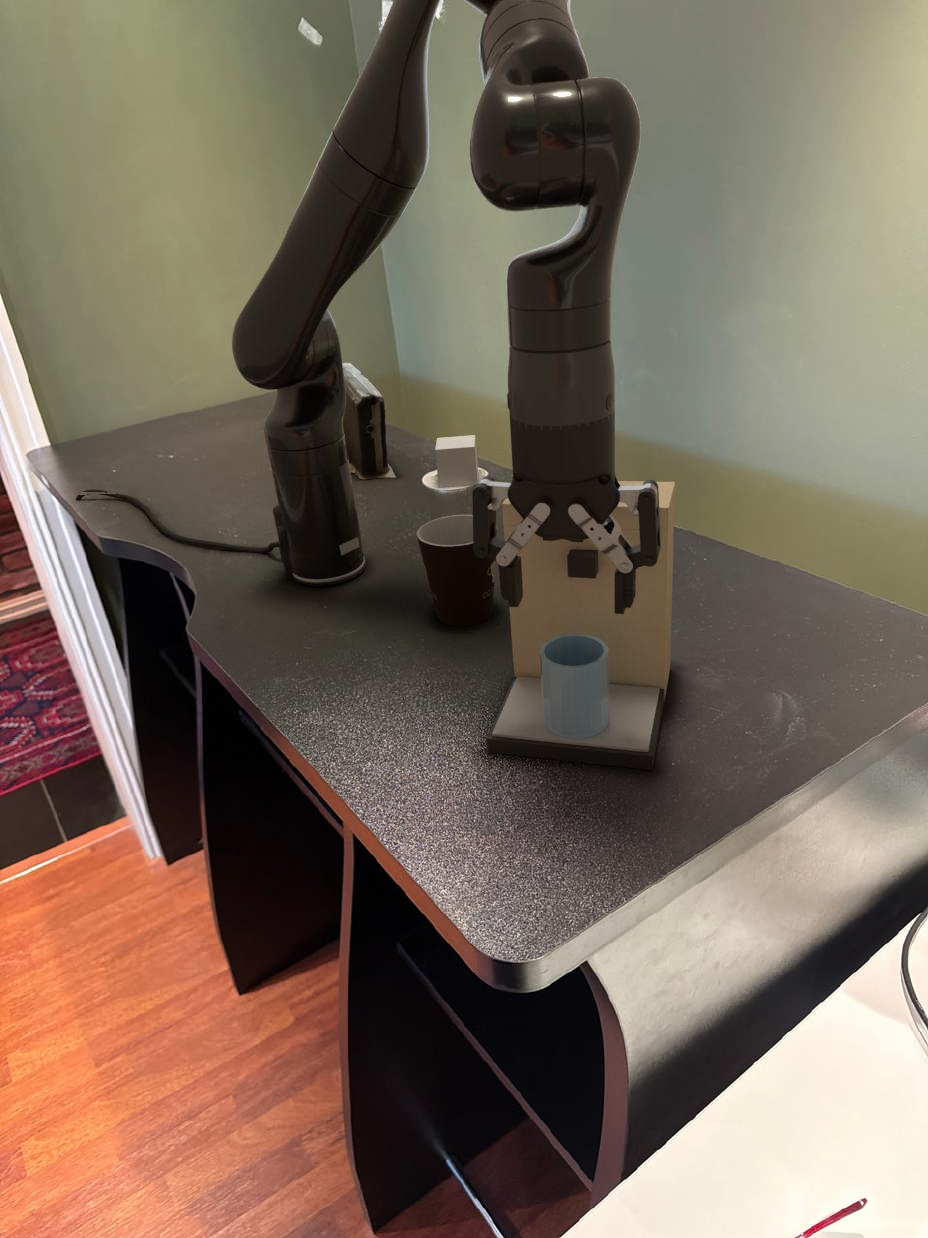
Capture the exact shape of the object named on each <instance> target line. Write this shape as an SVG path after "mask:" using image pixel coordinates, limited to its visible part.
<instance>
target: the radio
mask: <svg viewBox="0 0 928 1238" xmlns="http://www.w3.org/2000/svg"><path fill="white" fill-rule="evenodd" d="M342 364H343V373H344V383H345V392H346V409H345V414H344V418H343V427H344V434H345V440H346V447H347V453H348V459H349V465H350V472H351V474H352V473H353V474H355V475H357V477H358V478H359V479H360V480H372V479H385V478H394V479H395V478H397V476H396V475H395V473H394V471H393V468H392V467H391V466H390V464H389V462H388V447H387V426H386V408H385V407H386V406H385V399H384V396H383V395H382V394H381V392H379V390H378V389H377V388H376V386H374V385H373V384H372V383H371V381H370V380H369V379H368V378H367V377H365V375H364V374H363V372H362V371H361V370H360V369H359V368H358V367H355V366H354V364H352V363H351V362H342Z"/></svg>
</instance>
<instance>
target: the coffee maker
mask: <svg viewBox="0 0 928 1238" xmlns="http://www.w3.org/2000/svg"><path fill="white" fill-rule="evenodd" d="M617 481H618V483H619V484H620V486H640V485H643V483H644V482H645V481H640V480H639V481H636V480H635V481H634V480H633V481H632V480H617ZM656 482H657V484H658V489H659V514H660V539H661V548H660V552H659V556H658V560H657V563H656V564H655V565H654V566H651V567H647V566H642V567H639V568H637V569H636V594H635V598H634V601H633V604H632V606H631V608H626V609H625V613H624V614H615V571H616V566H615V565H614V564H613V563H612V561H611V560H610V559H609V558H608V557H607V555H606V554H604V553H601V552H600V551H599V549H598V548H597V547H596V546H595V545H594V543H593V542H592V541H591V540H590V538H588V539H585V540H584V541H583V542H571V541H568V540H565V539H560V540H555V541H543V538H542V537H539V536H538V535H536V534H535V533H534V534H533V535H532V537H531V538H530V539H529V541H528V542H527V543H526V544H525V546H524V547H523V548H522V549H521V550H520V551H519V553H518V554H517V556H521V566H522V584H523V597H522V600H521V602H520V604H519V606H518V607H509V606H508V608H509V621H510V633H511V634H510V635H511V646H512V650H511V651H512V661H513V662H512V663H513V674H514V675H513V678H512V681H511V684H510V685H509V688H508V690H507V692H506V694H505V696H504V699H503V701H502V703H501V706H500V707H499V710H498V712H497V715H496V717H495V719H494V721H493V724H492V726H491V729H490V731H489V732H488V735H487V737H486V746H487V753H491V754H498V755H499V754H500V755H507V756H509V755H510V756H517V757H528V758H535V759H544V760H545V759H546V760H555V761H563V762H572V763H581V764H582V763H583V764H591V765H600V766H608V767H619V768H626V769H627V768H628V769H637V770H644V771H645V770H646V771H653V770H654V764H655V759H656V754H657V753H656V751H657V746H658V741H659V735H660V730H661V723H662V717H663V713H664V707H665V700H666V695H667V690H668V689H667V688H668V684H669V677H670V673H671V672H670V671H671V658H672V657H671V655H672V619H673V618H672V617H673V616H672V615H673V584H674V583H673V581H674V580H673V577H674V576H673V575H674V545H675V544H674V542H675V539H674V538H675V507H676V505H675V503H676V502H675V501H676V481H656ZM501 510H502V511H501V512H502V523H503V537H504V539H503V540H504V541H506V540H507V539H508V538H509V536H510V535H511V534H512V533H513V531H514V530H515V529H516V527H517V526H518V524H519V523H520V522H521V520H522V519H523V518H522V517H521V516H520V514H519V513H518V512H517V511H516V509H515V508H514V507H513V506H512V504H511V503H510V501H509V499H508V498H506V499H503V503H502V505H501ZM611 515H612V516H613V518H614V519H615V520H616V521H617V523H618V524H619V525H620V527H621V529H622V532H623V534H624V535H625V536H626V538H627V539H628V540H629V541H630V543H631V544H632V545H633V546H637V545H640V531H639V516H634V515H632V514H631V513H630V511H629V508H628V506H627V505H626V504H625V503H623V502H619V504H618V506H617V507H616V508H615V509H614V511H613V512H612V513H611ZM572 633H576V634H587V635H591V636H594V637H597V638H599V639H600V640H602V641H603V642H605V643H606V645H607V647H608V649H609V723H608V725H607V727H606V728H605V729H604V730H603V731H602V732H600V733H599V734H597V735H595V736H592V737H588V738H582V739H570V738H564V737H560V736H557V735H555V734H553V733H552V732H550V731H549V730H548V729H547V728H546V726H545V724H544V717H543V708H542V690H541V672H540V654H539V651H540V649H541V646H542V644H544V643H545V642H546V641H548V640H549V639H551V638H554V637H556V636H559V635H564V634H572Z"/></svg>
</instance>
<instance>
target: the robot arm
mask: <svg viewBox="0 0 928 1238" xmlns="http://www.w3.org/2000/svg"><path fill="white" fill-rule="evenodd" d="M462 1H463V2H465V3H466V4H468V5H469V6H471V7H472V8H473V9H475V10H476V11H478V12H479V13H480V14H482V15H483V16H485V18H484V19H483V21H482V26H481V29H480V34H479V40H478V57H479V66H480V72H481V76H482V81H483V89H482V92H481V94H480V96H479V98H478V102H477V105H476V109H475V113H474V115H473V120H472V125H471V130H470V138H469V163H470V171H471V175H472V178H473V181H474V185H475V186H476V189H477V190H478V192H479V194H480V195H481V196H482V197H483V198H484V199H485V200H486V201H487V202H488V203H489V204H490V205H492V206H493V207H495V208H496V209H499V210H502V211H504V212H505V211H506V212H514V213H515V212H527V211H536V210H537V211H538V210H550V209H561V208H571V207H576V206H577V207H580V208H579V209H580V210H579V214H578V217H577V219H576V221H575V223H574V225H573V226H572V228H571V230H570V231H569V232H568V233H567V234H566V235H565V236H563V237H562V238H560V239H558V240H557V241H554V242H551V243H549V244H546V245H543V246H540V247H536V248H534V249H530V250H527V251H525V252H523V253H520V254H518V255H517V256H515V257H514V258H512V259H511V260H510V262H509V264H508V266H507V268H506V276H505V291H506V292H505V294H506V304H507V305H506V308H507V324H508V325H507V328H508V344H509V346H508V348H509V349H508V352H509V353H508V368H507V394H506V399H507V400H506V401H507V403H506V404H507V409H508V412H509V431H510V446H511V465H512V480H511V482H506V481H505V482H503V481H496V480H495V479H494V477H493V476H491V475H486V476H483V477H482V478H481V480H479V481H478V484H476V486H475V487H474V488H473V490H472V498H471V499H472V515H473V551H474V554H475V555H476V556H477V557H479V558H485V557H488V558H490V559H493V560H494V561H495V563H496V564H497V566H498V575H499V589H500V590H499V591H500V596H501V597H502V600H504V601H507V606H508V608H509V607H518V606H519V604H520V602H521V600H522V597H523V584H522V566H521V556H517V554H518V553H519V551H520V550H521V549H522V548H523V547H524V546H525V544H526V543H527V542H528V541H529V539H530V538H531V537H532V535H533V534H534V533H535V534H536V535H538V536H539V537H542V538H543V541H555V540H560V539H565V540H568V541H571V542H583V541H584V540H585V539H588V538H590V540H591V541H592V542H593V543H594V545H595V546H596V547H597V548H598V549H599V551H600V552H601V553H604V554H606V555H607V557H608V558H609V559H610V560H611V561H612V563H613V564H614V565H615V566H616V571H615V614H624V613H625V609H626V608H631V606H632V604H633V601H634V598H635V594H636V569H637V568H639V567H642V566H647V567H651V566H654V565H655V564H656V563H657V560H658V556H659V552H660V548H661V539H660V514H659V489H658V484H657V482H658V481H656V480H653V479H647V480H645V481H644V483H643V485H640V486H620V484H619V483H618V481H619V480H618V479H617V476H616V457H615V456H616V423H615V422H616V375H615V373H616V372H615V362H614V356H613V348H612V347H613V346H612V277H613V267H614V266H613V265H614V261H615V260H614V259H615V253H616V247H617V242H618V236H619V232H620V228H621V227H620V226H621V223H622V219H623V215H624V210H625V207H626V203H627V201H628V196H629V193H630V189H631V185H632V182H633V178H634V174H635V170H636V166H637V163H638V158H639V154H640V148H641V141H642V140H641V139H642V123H641V116H640V112H639V108H638V105H637V103H636V100H635V99H634V96H633V95H632V93H631V92H630V90H629V88H628V87H627V86H626V85H625V84H624V83H623V82H622V81H620V80H618V79H616V78H613V77H606V76H598V77H597V76H596V77H590V71H589V65H588V62H587V59H586V55H585V52H584V50H583V47H582V44H581V40H580V38H579V35H578V31H577V30H576V26H575V24H574V20H573V17H572V13H571V0H462ZM440 2H441V0H393V1H392V4H391V6H390V8H389V11H388V14H387V16H386V18H385V21H384V23H383V26H382V28H381V30H380V32H379V34H378V37H377V40H376V41H375V44H374V46H373V48H372V50H371V53H370V55H369V56H368V58H367V61H366V63H365V64H364V67H363V69H362V70H361V73H360V75H359V77H358V79H357V81H356V82H355V85H354V87H353V89H352V91H351V93H350V95H349V97H348V99H347V100H346V102H345V105H344V106H343V109H342V111H341V112H340V114H339V117H338V119H337V121H336V122H335V125H334V127H333V129H332V131H331V133H330V135H329V138H328V139H327V141H326V144H325V146H324V148H323V150H322V152H321V154H320V157H318V158H319V159H318V161H317V163H316V165H315V167H314V170H313V172H312V175H311V177H310V180H309V183H308V184H307V186H306V189H305V190H304V193H303V195H302V197H301V199H300V202H299V203H298V205H297V208H296V209H295V211H294V214H293V216H292V218H291V221H290V223H289V225H288V227H287V230H286V231H285V235H284V236H283V239H282V241H281V243H280V244H279V247H278V249H277V252H276V254H275V255H274V257H273V259H272V261H271V262H270V264H269V266H268V268H267V270H266V271H265V273H264V274H263V275H262V277H261V279H260V280H259V283H258V284H257V286H256V287H255V288H254V290H253V292H252V294H251V295H250V296H249V299H248V300H247V301H246V303H245V305H244V307H243V308H242V310H241V311H240V313H239V315H238V317H237V318H236V321H235V324H234V327H233V330H232V336H231V353H232V356H233V361H234V363H235V366H236V368H237V371H238V372H239V374H240V375H241V377H243V379H244V380H245V381H246V382H248V383H249V384H250V385H252V386H254V387H257V388H259V389H261V390H262V389H263V390H268V391H274V390H276V392H275V398H274V401H273V403H272V407H271V408H270V410H269V412H268V414H267V415H266V417H265V419H264V421H263V433H264V434H263V435H264V439H265V444H266V449H267V453H268V454H267V455H268V458H269V463H270V469H271V473H272V478H273V483H274V488H275V493H276V494H275V495H276V498H277V504H275V505H274V507H273V508H272V514H273V515H272V516H273V519H274V524H275V528H276V534H277V539H278V541H273V542H270V543H269V544H268V546H263V547H256V546H255V547H253V546H243V545H237V544H230V543H226V542H225V543H223V542H217V541H210V540H205V539H204V540H203V539H198V538H197V539H196V538H192V537H187V536H184V535H180V534H178V533H175V532H173V531H171V530H170V529H169V528H167V527H166V526H164V524H163V523H162V522H160V520H159V519H157V517H156V516H155V515H154V514H153V512H152V511H151V509H150V508H149V507H148V506H147V505H145V504H144V503H143V502H141V501H140V500H138V499H137V498H135V497H134V496H131V495H128V494H123V493H118V492H115V493H116V494H99V496H106V497H110V498H115V499H119V500H120V499H121V500H125V501H128V502H132V503H133V504H135V505H136V506H137V507H138V508H140V509H141V510H143V512H144V513H145V514H146V515H147V517H148V518H149V520H150V521H151V522H152V523H153V524H154V525H155V526H156V527H157V529H159V530H160V531H161V532H162V533H164V534H165V535H166V536H168V537H170V538H172V539H174V540H176V541H180V542H183V543H185V544H190V545H195V546H201V547H208V548H215V549H222V550H228V551H233V552H242V553H255V554H256V553H257V554H266V553H267V554H268V553H271V552H273V550H274V549H275V548H278V551H279V555H280V559H281V562H282V563H283V567H284V572H285V578H286V579H289V580H294V581H295V582H296V583H298V584H301V585H305V586H310V587H311V586H313V587H325V586H331V585H336V584H337V585H338V584H341V583H344V582H347V581H350V580H353V579H354V578H356V577H357V576H359V575H360V574H362V573H363V572H364V571H365V569H366V566H367V564H366V557H365V554H364V548H363V544H362V543H363V541H362V538H361V537H362V536H361V530H360V523H359V517H358V511H357V510H358V509H357V503H356V499H355V492H354V485H353V478H352V472H350V465H349V459H348V453H347V447H346V440H345V434H344V427H343V418H344V414H345V409H346V392H345V383H344V373H343V364H342V363H343V356H342V348H341V342H340V337H339V333H338V329H337V326H336V323H335V321H334V318H333V316H332V314H331V312H330V310H329V308H330V305H331V303H332V301H333V300H334V298H335V297H336V295H337V294H338V293H339V292H340V291H341V289H342V288H343V287H344V285H345V284H346V283H347V282H348V281H349V280H350V279H351V278H352V277H353V276H354V274H355V273H356V272H357V271H358V270H360V268H361V267H362V266H364V264H365V263H366V262H367V261H368V260H369V258H370V257H372V255H373V254H374V253H375V252H376V251H377V250H378V248H379V247H381V245H382V244H383V243H384V242H385V240H386V239H387V238H388V236H389V235H390V234H391V232H392V231H393V229H394V228H395V226H396V225H397V223H398V222H399V220H400V218H401V217H402V216H403V214H404V212H405V210H406V209H407V207H408V205H409V203H410V201H411V200H412V198H413V196H414V194H415V192H416V190H417V189H418V186H419V185H420V183H421V181H422V179H423V177H424V175H425V173H426V170H427V168H428V163H429V157H430V142H431V141H430V139H431V138H430V114H429V113H430V112H429V96H428V61H429V47H430V41H431V40H430V39H431V33H432V29H433V24H434V21H435V17H436V14H437V11H438V8H439V5H440ZM82 492H105V493H107V492H110V491H108V490H103V489H94V488H93V489H86V490H83V491H82ZM79 494H80V493H78V494H77V495H76V497H75V501H81V500H82V499H83V498H84V497H85V496H88V495H89V494H87V495H79ZM506 498H508V499H509V501H510V503H511V504H512V506H513V507H514V508H515V509H516V511H517V512H518V513H519V514H520V516H521V517H522V518H523V519H522V520H521V522H520V523H519V524H518V526H517V527H516V529H515V530H514V531H513V533H512V534H511V535H510V536H509V538H508V539H507V540H506V541H505V540H504V539H501V538H498V537H497V532H496V525H497V511H498V510H500V508H501V507H502V503H503V502H504V500H505V499H506ZM619 502H623V503H625V504H626V505H627V506H628V508H629V511H630V513H631V514H632V515H634V516H639V531H640V545H637V546H633V545H632V544H631V543H630V541H629V540H628V539H627V538H626V536H625V535H624V534H623V532H622V529H621V527H620V525H619V524H618V523H617V521H616V520H615V519H614V518H613V516H612V515H611V513H612V512H613V511H614V509H615V508H616V507H617V506H618V504H619Z"/></svg>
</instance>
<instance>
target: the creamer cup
mask: <svg viewBox="0 0 928 1238" xmlns="http://www.w3.org/2000/svg"><path fill="white" fill-rule="evenodd" d="M539 654H540V672H541V690H542V708H543V717H544V724H545V726H546V728H547V729H548V730H549V731H550V732H552V733H553V734H555V735H557V736H560V737H564V738H570V739H582V738H588V737H592V736H595V735H597V734H599V733H600V732H602V731H603V730H604V729H605V728H606V727H607V725H608V723H609V649H608V647H607V645H606V643H605V642H603V641H602V640H600V639H599V638H597V637H594V636H591V635H587V634H576V633H572V634H564V635H559V636H556V637H554V638H551V639H549V640H548V641H546V642H545V643H544V644H542V646H541V649H540V651H539Z"/></svg>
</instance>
